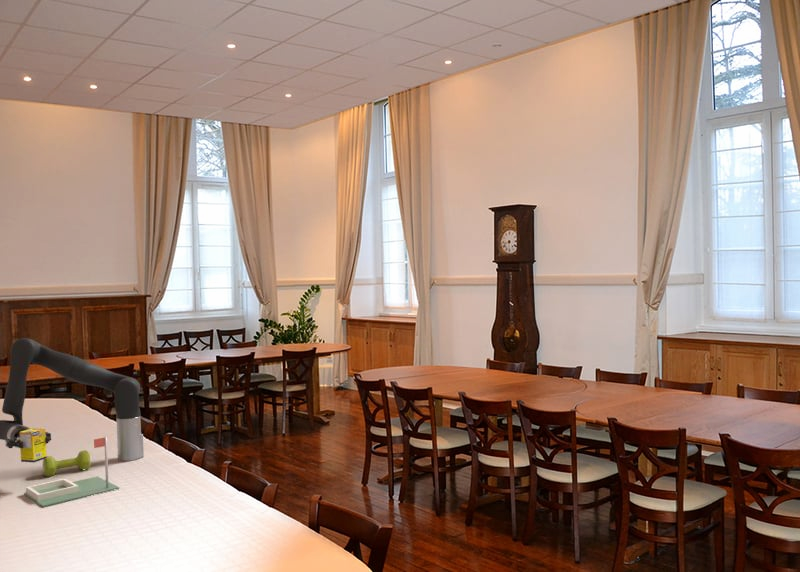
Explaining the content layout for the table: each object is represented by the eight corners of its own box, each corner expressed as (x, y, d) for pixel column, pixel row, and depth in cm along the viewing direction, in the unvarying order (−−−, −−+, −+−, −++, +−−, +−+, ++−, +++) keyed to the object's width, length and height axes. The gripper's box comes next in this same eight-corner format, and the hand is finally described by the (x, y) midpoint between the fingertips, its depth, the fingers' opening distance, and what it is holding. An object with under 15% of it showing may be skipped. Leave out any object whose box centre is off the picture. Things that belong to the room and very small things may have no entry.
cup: (97, 477, 254) (95, 428, 253) (119, 489, 239) (117, 436, 239) (24, 494, 236) (22, 441, 236) (43, 507, 222) (41, 451, 221)
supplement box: (47, 458, 246) (45, 428, 245) (33, 463, 240) (31, 432, 240) (34, 457, 248) (33, 427, 247) (20, 462, 242) (19, 431, 242)
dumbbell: (45, 479, 255) (44, 460, 254) (41, 474, 261) (41, 455, 261) (92, 470, 264) (91, 452, 264) (87, 466, 271) (87, 448, 270)
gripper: (-2, 429, 249) (12, 436, 237) (40, 422, 259) (55, 428, 247) (-1, 450, 249) (13, 457, 237) (41, 441, 259) (56, 449, 247)
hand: (34, 442), depth 242 cm, fingers closed on supplement box, 8 cm apart
